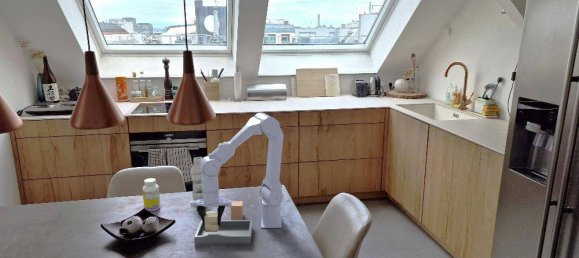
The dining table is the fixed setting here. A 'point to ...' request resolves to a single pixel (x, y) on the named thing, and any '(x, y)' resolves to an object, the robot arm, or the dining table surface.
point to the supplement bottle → (151, 195)
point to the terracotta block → (237, 210)
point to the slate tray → (225, 234)
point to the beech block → (211, 221)
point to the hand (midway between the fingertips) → (212, 224)
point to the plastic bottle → (197, 179)
